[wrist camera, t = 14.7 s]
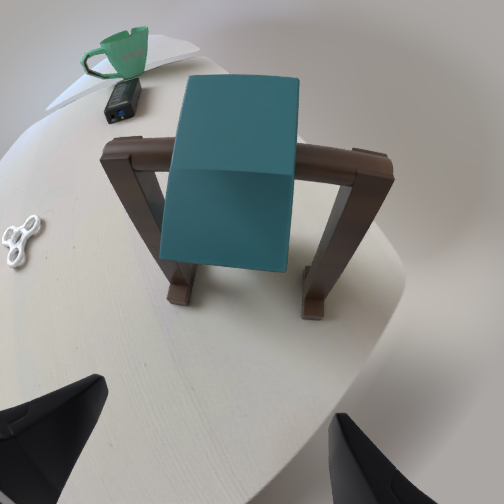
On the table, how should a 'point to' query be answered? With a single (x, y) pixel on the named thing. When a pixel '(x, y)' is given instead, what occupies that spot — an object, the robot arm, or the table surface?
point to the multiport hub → (123, 101)
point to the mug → (122, 54)
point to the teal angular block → (233, 173)
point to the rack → (306, 168)
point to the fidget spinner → (22, 241)
